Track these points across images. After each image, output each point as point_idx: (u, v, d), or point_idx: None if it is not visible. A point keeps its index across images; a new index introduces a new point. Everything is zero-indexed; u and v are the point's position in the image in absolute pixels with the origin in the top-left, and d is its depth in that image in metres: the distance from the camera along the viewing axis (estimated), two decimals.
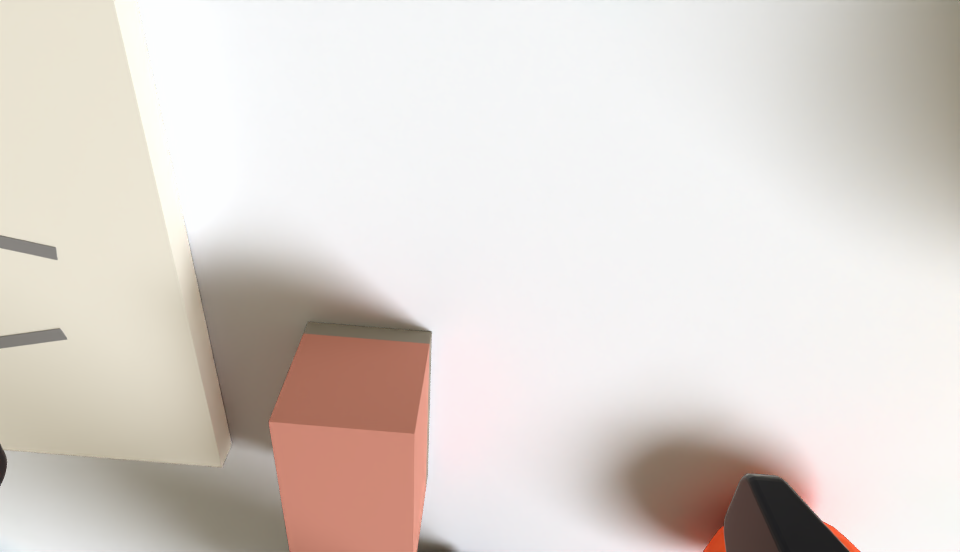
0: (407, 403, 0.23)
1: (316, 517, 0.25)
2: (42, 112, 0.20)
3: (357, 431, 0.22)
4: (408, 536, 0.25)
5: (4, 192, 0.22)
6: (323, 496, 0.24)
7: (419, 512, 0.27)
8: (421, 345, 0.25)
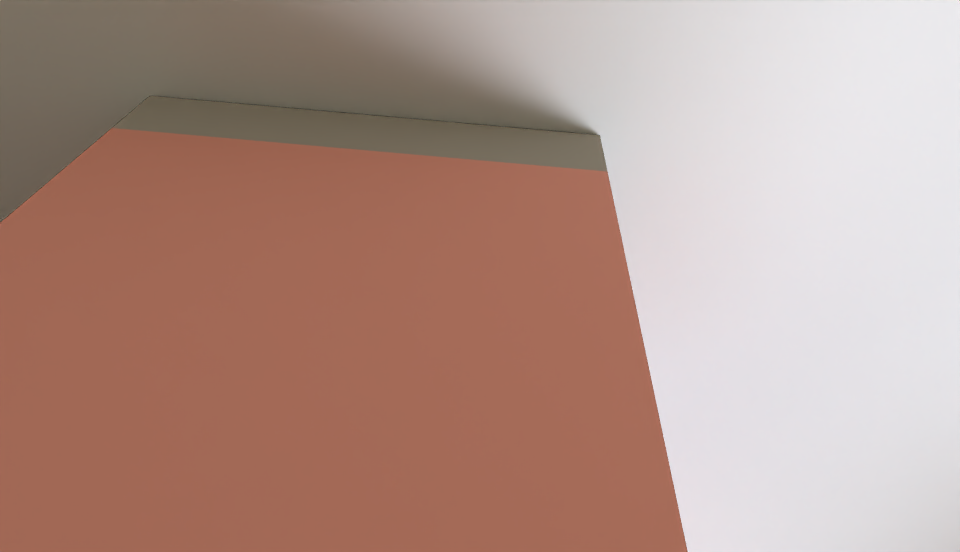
0: (587, 401, 0.04)
1: None
2: None
3: None
4: None
5: None
6: None
7: None
8: (579, 174, 0.06)
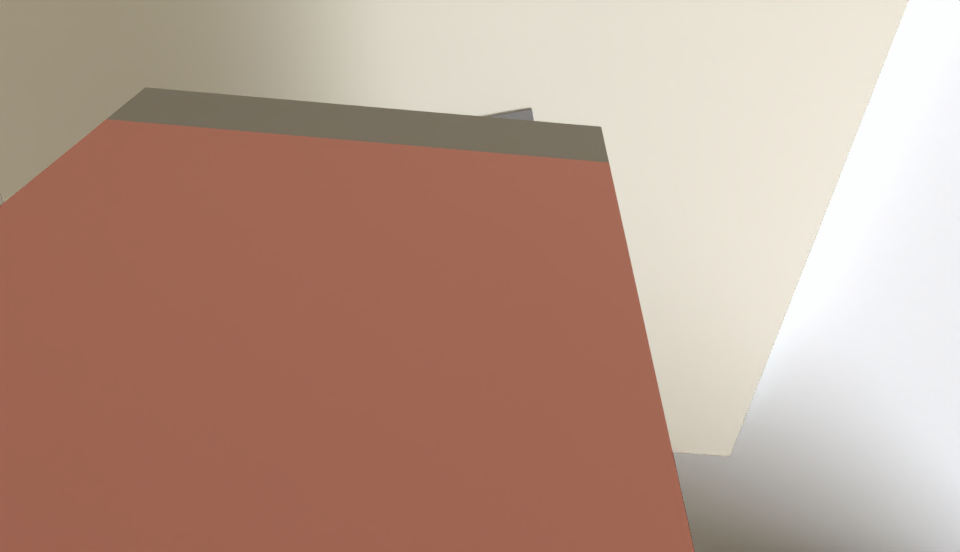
0: (590, 393, 0.04)
1: None
2: None
3: None
4: None
5: None
6: None
7: None
8: (580, 166, 0.06)
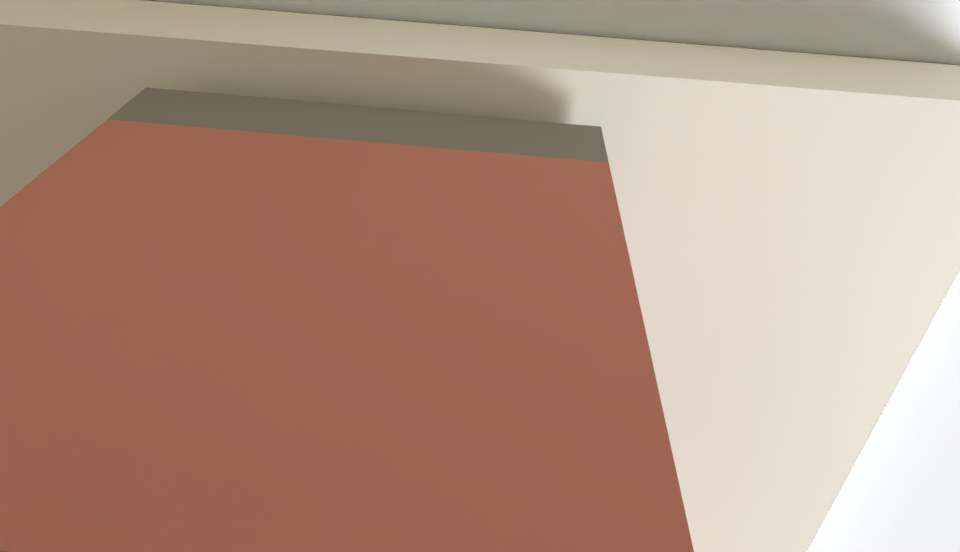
0: (590, 391, 0.04)
1: None
2: None
3: None
4: None
5: None
6: None
7: None
8: (581, 165, 0.06)
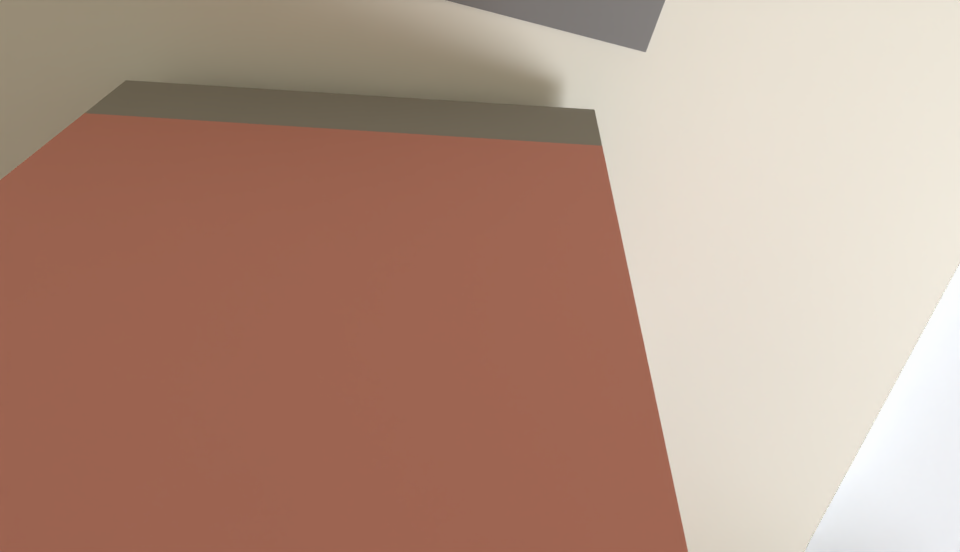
0: (579, 384, 0.04)
1: None
2: None
3: None
4: None
5: None
6: None
7: None
8: (574, 150, 0.06)
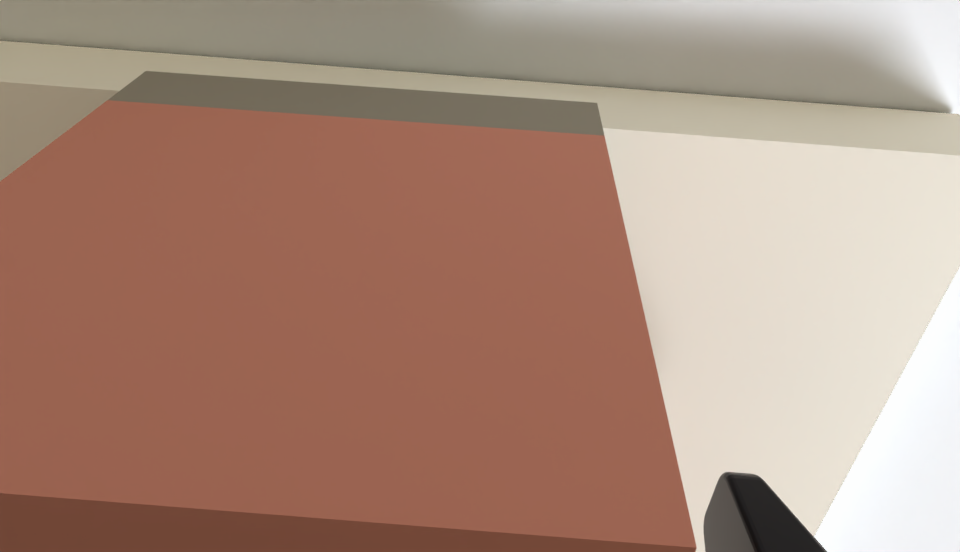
0: (582, 345, 0.04)
1: None
2: None
3: (273, 532, 0.03)
4: None
5: None
6: None
7: None
8: (577, 138, 0.06)
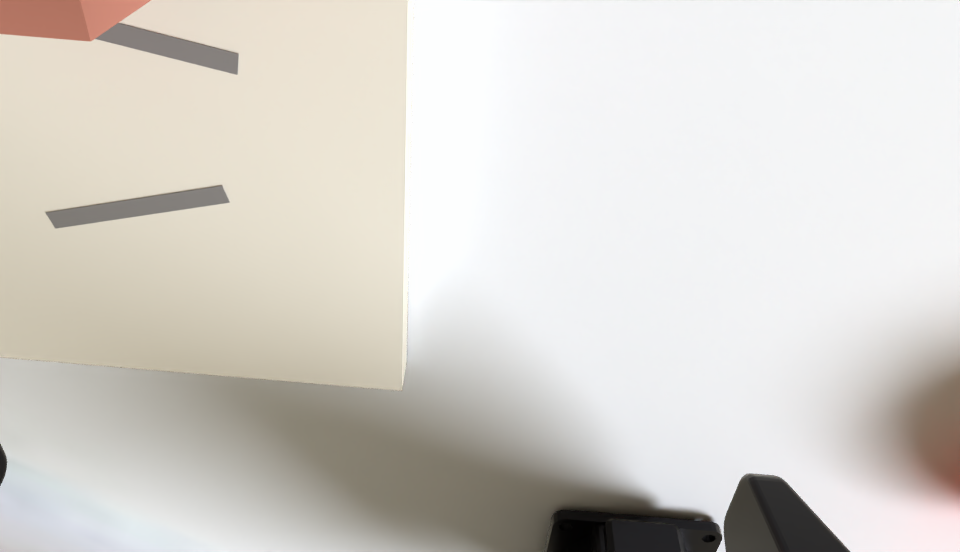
0: None
1: None
2: None
3: None
4: None
5: None
6: None
7: None
8: None
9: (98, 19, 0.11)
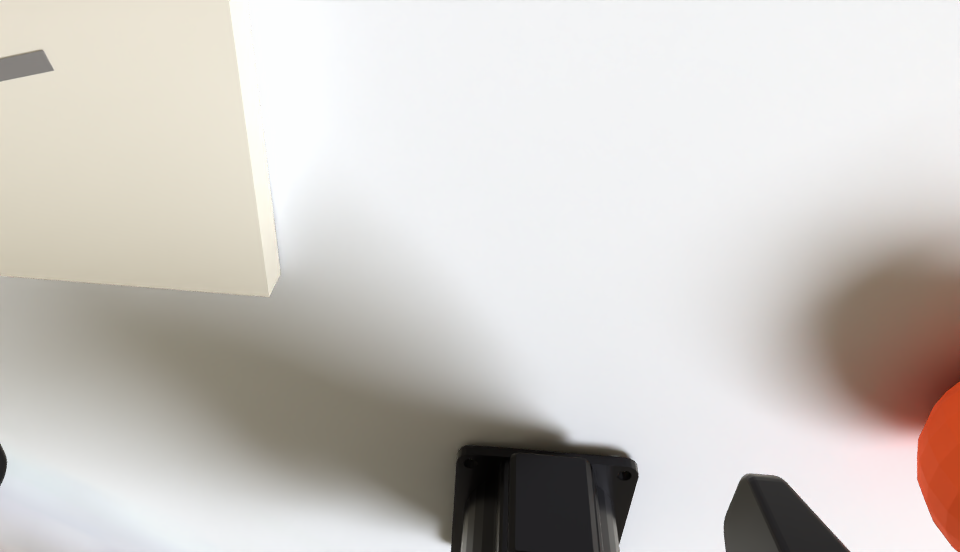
0: None
1: None
2: None
3: None
4: None
5: None
6: None
7: None
8: None
9: None
